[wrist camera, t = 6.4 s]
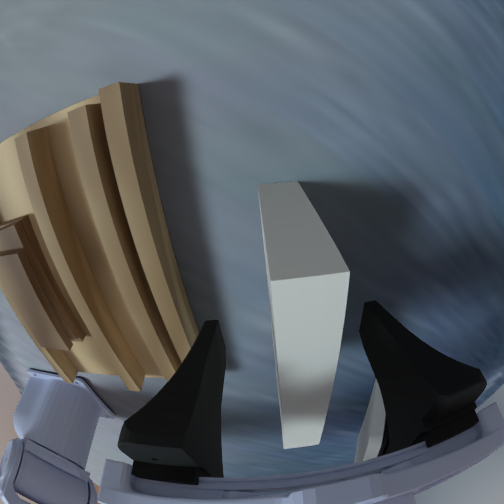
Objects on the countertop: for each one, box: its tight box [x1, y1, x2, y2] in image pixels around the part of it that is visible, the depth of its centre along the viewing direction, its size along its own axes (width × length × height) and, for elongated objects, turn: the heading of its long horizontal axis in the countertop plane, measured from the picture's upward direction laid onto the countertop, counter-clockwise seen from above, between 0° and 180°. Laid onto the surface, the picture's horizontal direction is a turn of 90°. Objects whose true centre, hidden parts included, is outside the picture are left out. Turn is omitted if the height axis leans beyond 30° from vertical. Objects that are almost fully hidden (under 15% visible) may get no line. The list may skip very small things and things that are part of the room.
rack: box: [0, 82, 199, 391], centre depth 15 cm, size 14×20×3 cm
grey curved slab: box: [354, 379, 391, 473], centre depth 23 cm, size 17×5×10 cm, turn 11°
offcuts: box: [0, 214, 86, 351], centre depth 15 cm, size 4×10×2 cm, turn 6°
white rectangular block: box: [257, 181, 350, 449], centre depth 13 cm, size 2×12×8 cm, turn 6°
